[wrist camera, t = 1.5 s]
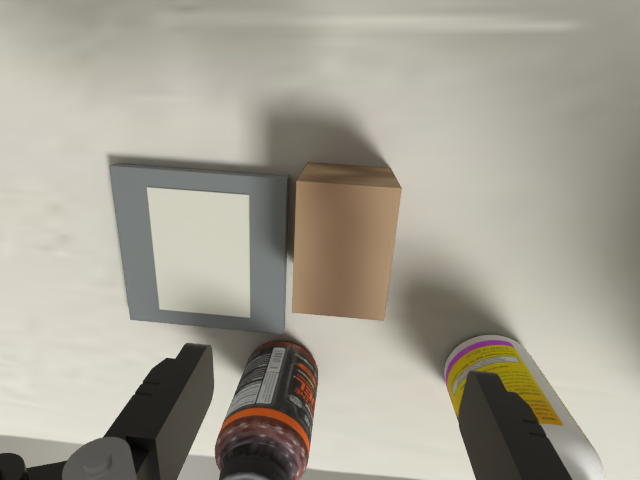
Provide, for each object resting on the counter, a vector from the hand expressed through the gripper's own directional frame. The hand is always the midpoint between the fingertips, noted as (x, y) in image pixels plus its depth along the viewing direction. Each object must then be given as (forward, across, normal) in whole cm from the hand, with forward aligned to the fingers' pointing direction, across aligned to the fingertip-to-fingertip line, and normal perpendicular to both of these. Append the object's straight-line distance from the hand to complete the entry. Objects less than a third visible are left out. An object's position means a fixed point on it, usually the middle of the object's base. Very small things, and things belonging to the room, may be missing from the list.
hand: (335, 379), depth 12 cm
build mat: (+16, +10, +3) cm, 19 cm away
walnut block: (+16, 0, 0) cm, 16 cm away
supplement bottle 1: (+16, +4, +13) cm, 21 cm away
